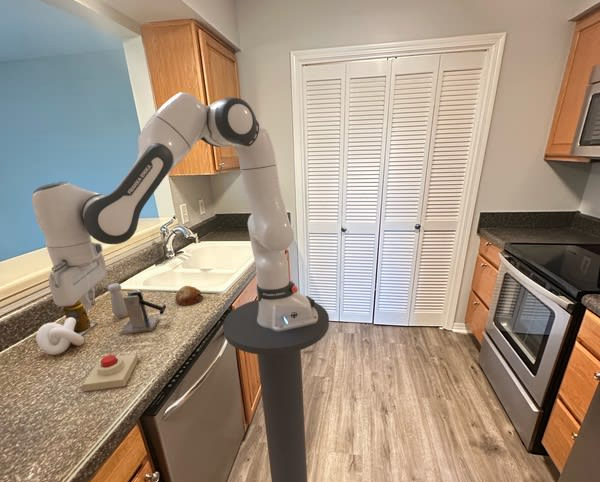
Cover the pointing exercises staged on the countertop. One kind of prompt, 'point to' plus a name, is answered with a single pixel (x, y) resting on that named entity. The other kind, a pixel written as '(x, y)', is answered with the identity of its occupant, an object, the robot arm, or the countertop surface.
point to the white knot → (58, 336)
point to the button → (108, 361)
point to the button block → (111, 373)
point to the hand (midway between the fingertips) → (90, 306)
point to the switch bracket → (137, 315)
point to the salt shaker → (117, 301)
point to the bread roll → (188, 295)
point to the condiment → (78, 317)
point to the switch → (151, 304)
